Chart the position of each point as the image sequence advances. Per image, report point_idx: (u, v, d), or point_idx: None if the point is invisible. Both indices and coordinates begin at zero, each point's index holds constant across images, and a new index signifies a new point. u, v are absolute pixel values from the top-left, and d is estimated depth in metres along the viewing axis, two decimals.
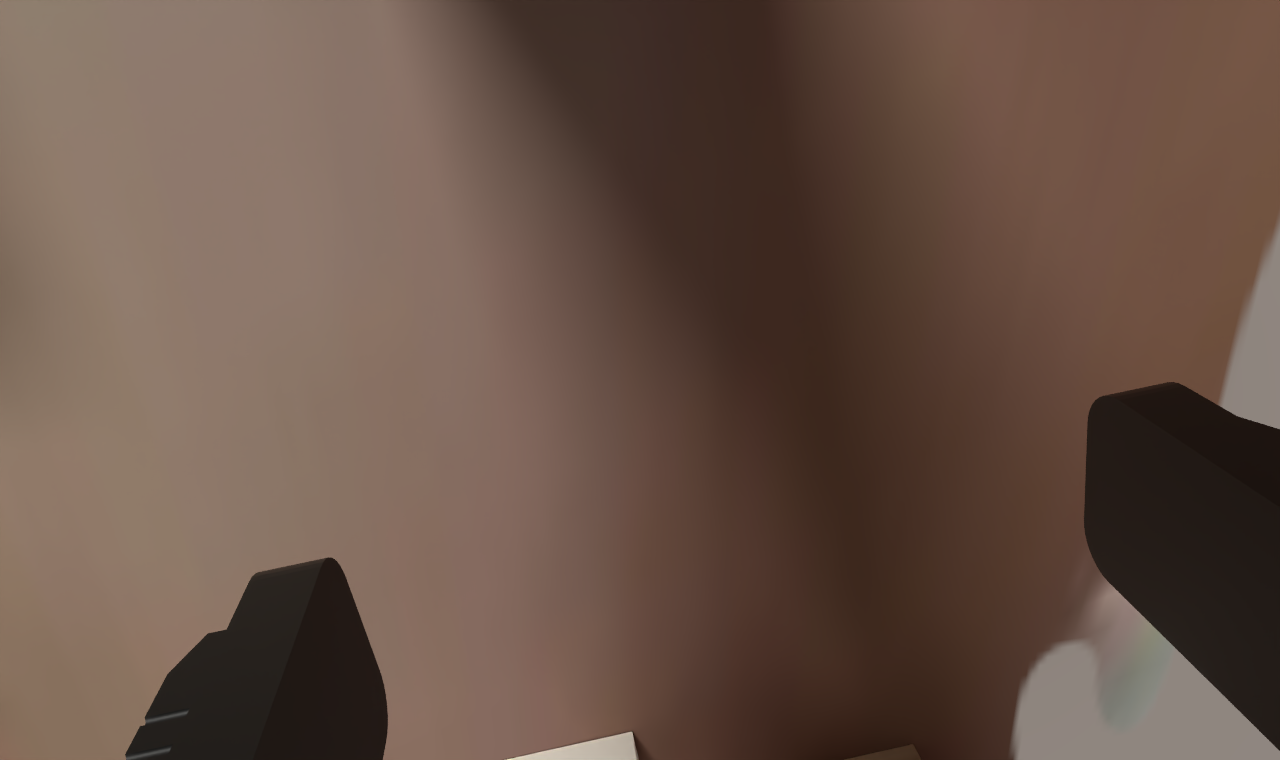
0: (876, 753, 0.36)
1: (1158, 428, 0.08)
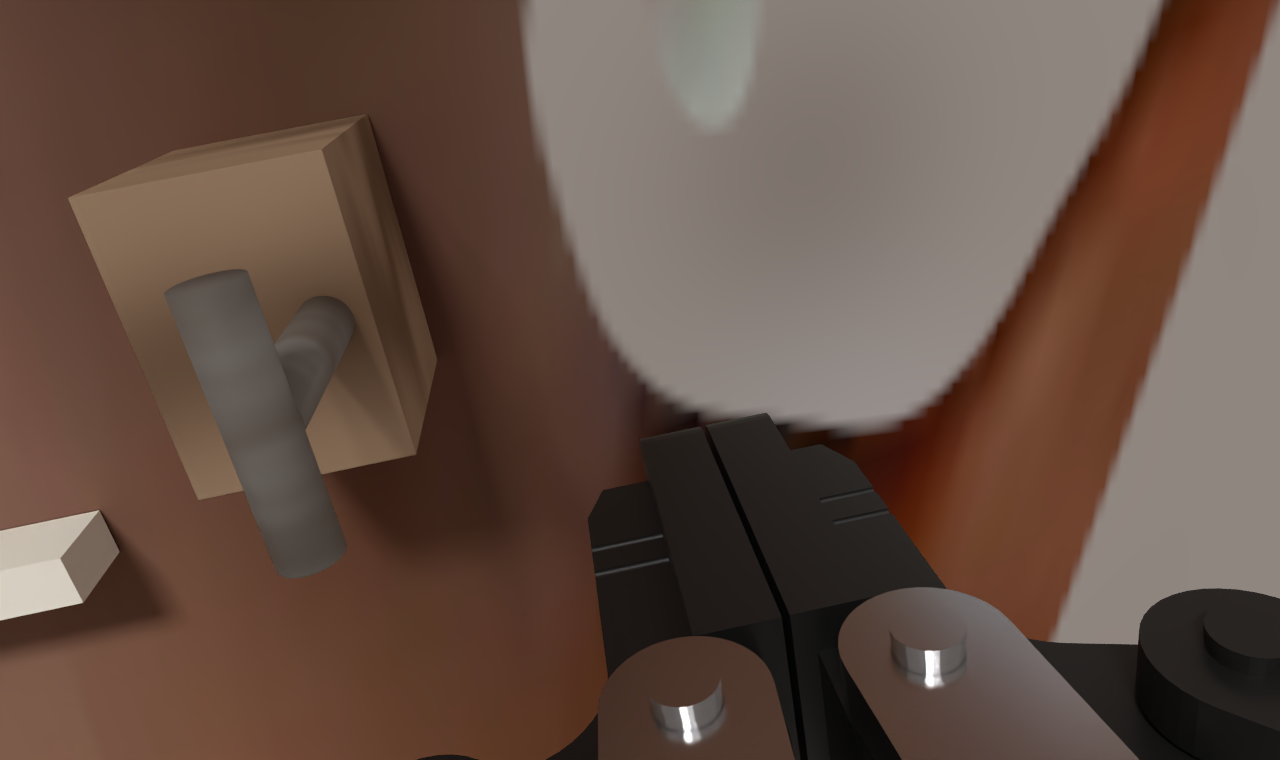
0: None
1: (722, 457, 0.09)
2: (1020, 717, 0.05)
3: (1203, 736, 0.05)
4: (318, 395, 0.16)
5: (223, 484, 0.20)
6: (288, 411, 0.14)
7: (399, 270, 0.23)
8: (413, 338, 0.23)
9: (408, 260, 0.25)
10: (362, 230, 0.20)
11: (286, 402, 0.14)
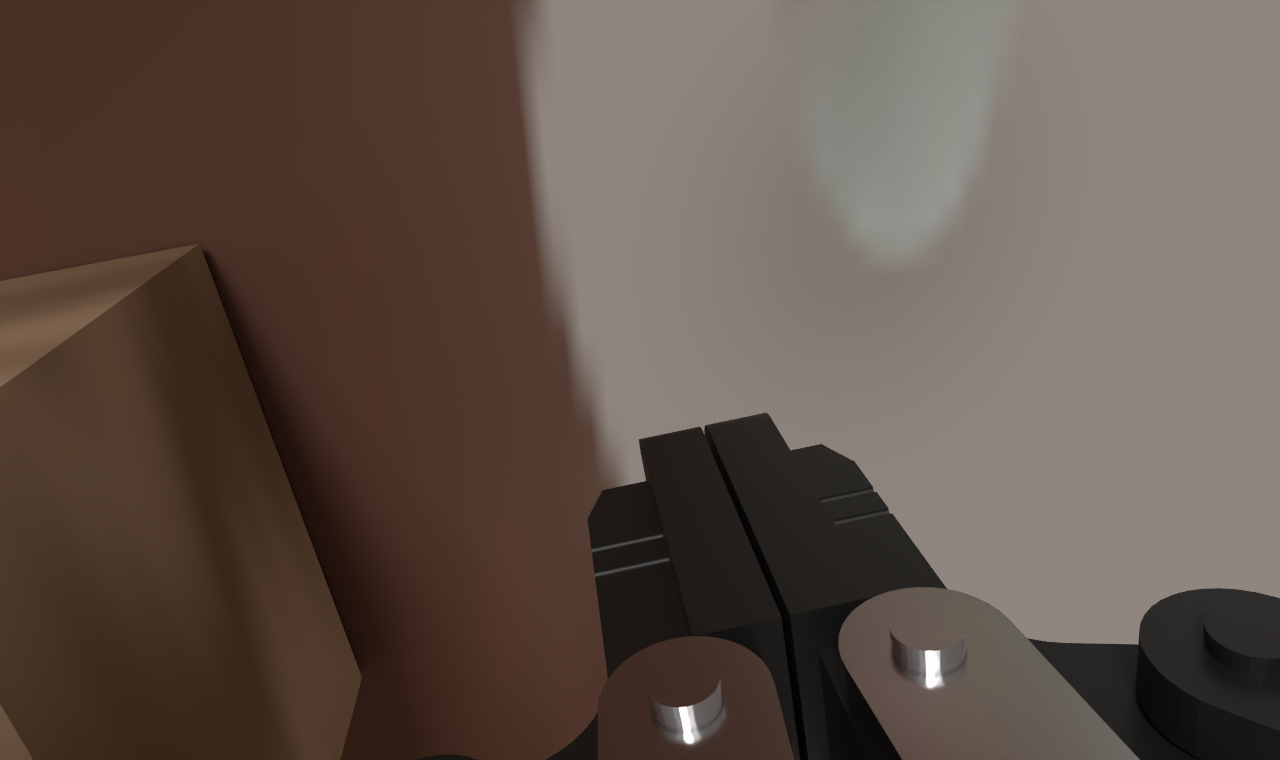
0: (71, 268, 0.11)
1: (722, 457, 0.09)
2: (1020, 717, 0.05)
3: (1204, 736, 0.05)
4: None
5: None
6: None
7: (259, 575, 0.11)
8: (287, 718, 0.11)
9: (296, 519, 0.13)
10: (98, 601, 0.08)
11: None
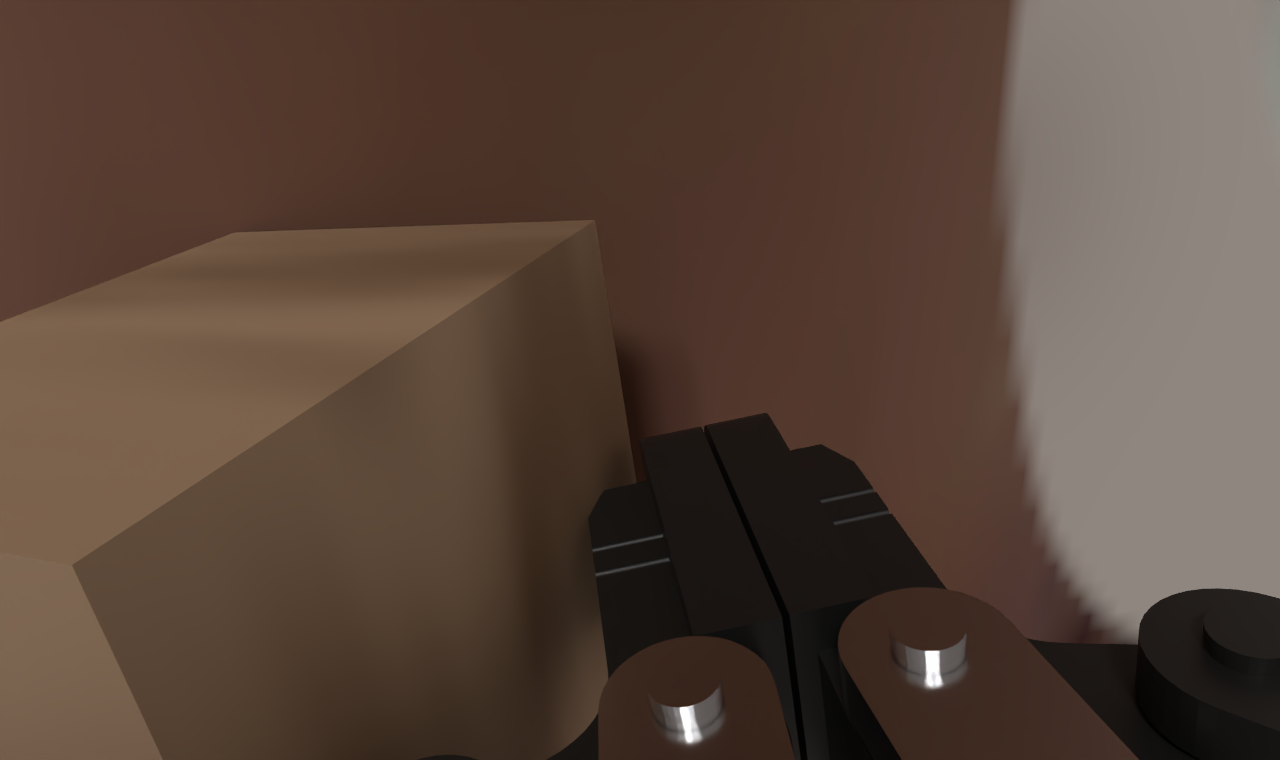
0: (463, 226, 0.10)
1: (721, 457, 0.09)
2: (1020, 717, 0.05)
3: (1204, 736, 0.05)
4: None
5: None
6: None
7: (580, 624, 0.09)
8: None
9: None
10: (365, 685, 0.06)
11: None
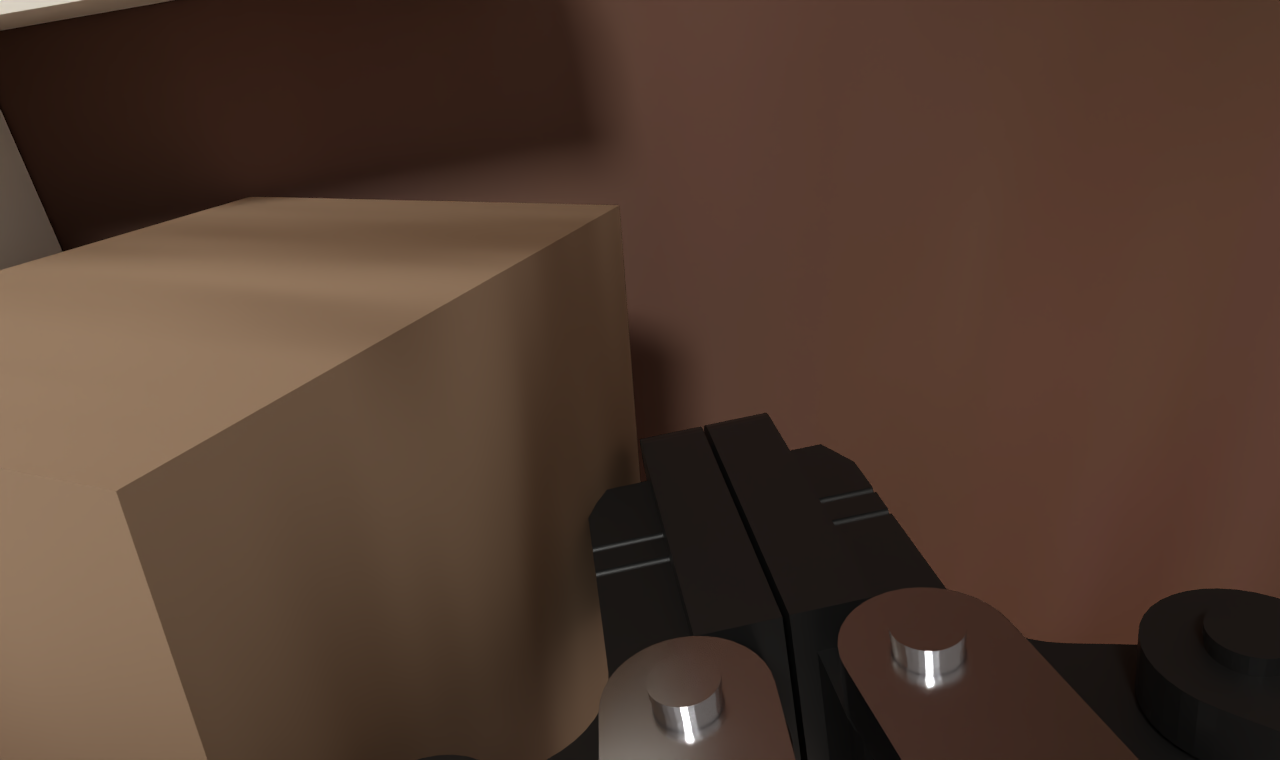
0: (486, 203, 0.10)
1: (721, 457, 0.09)
2: (1019, 718, 0.05)
3: (1203, 736, 0.05)
4: None
5: None
6: None
7: (578, 606, 0.09)
8: None
9: None
10: (377, 643, 0.06)
11: None
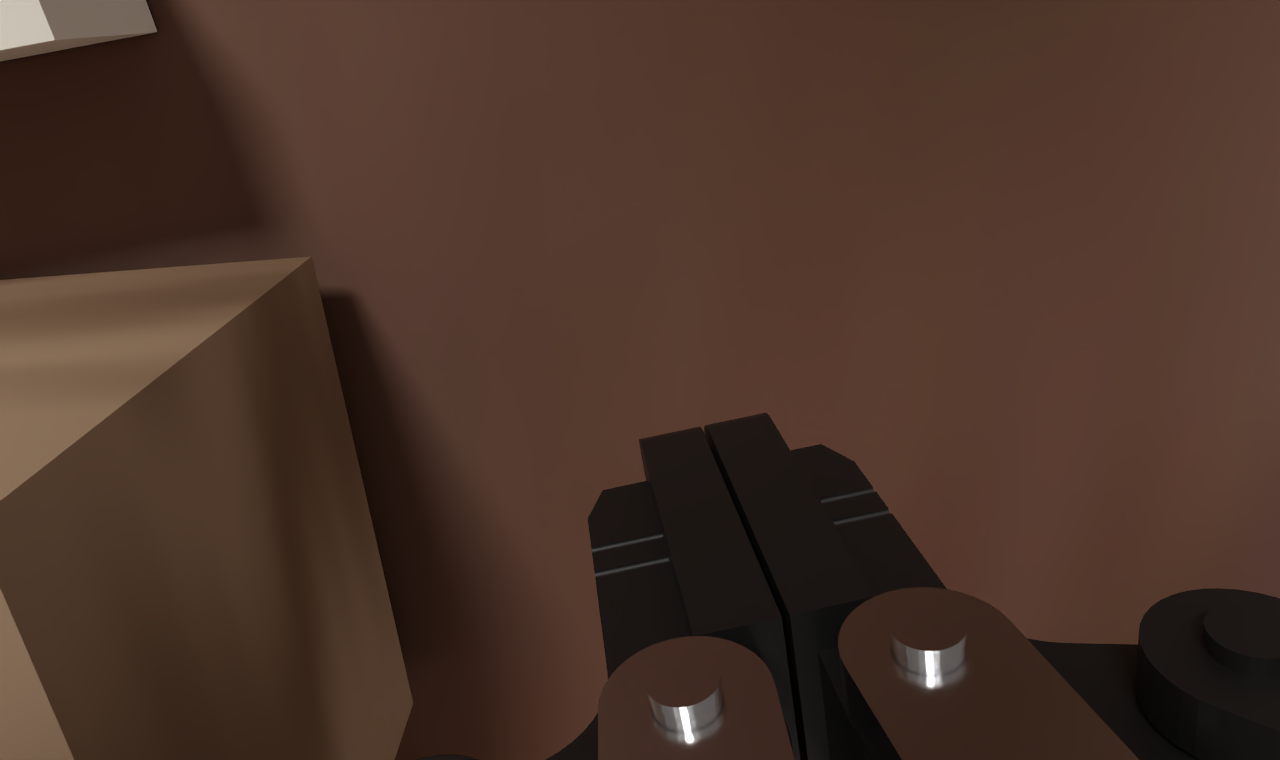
0: (184, 267, 0.11)
1: (722, 457, 0.09)
2: (1021, 717, 0.05)
3: (1203, 736, 0.05)
4: None
5: None
6: None
7: (330, 601, 0.11)
8: (339, 751, 0.11)
9: (370, 540, 0.12)
10: (176, 638, 0.08)
11: None
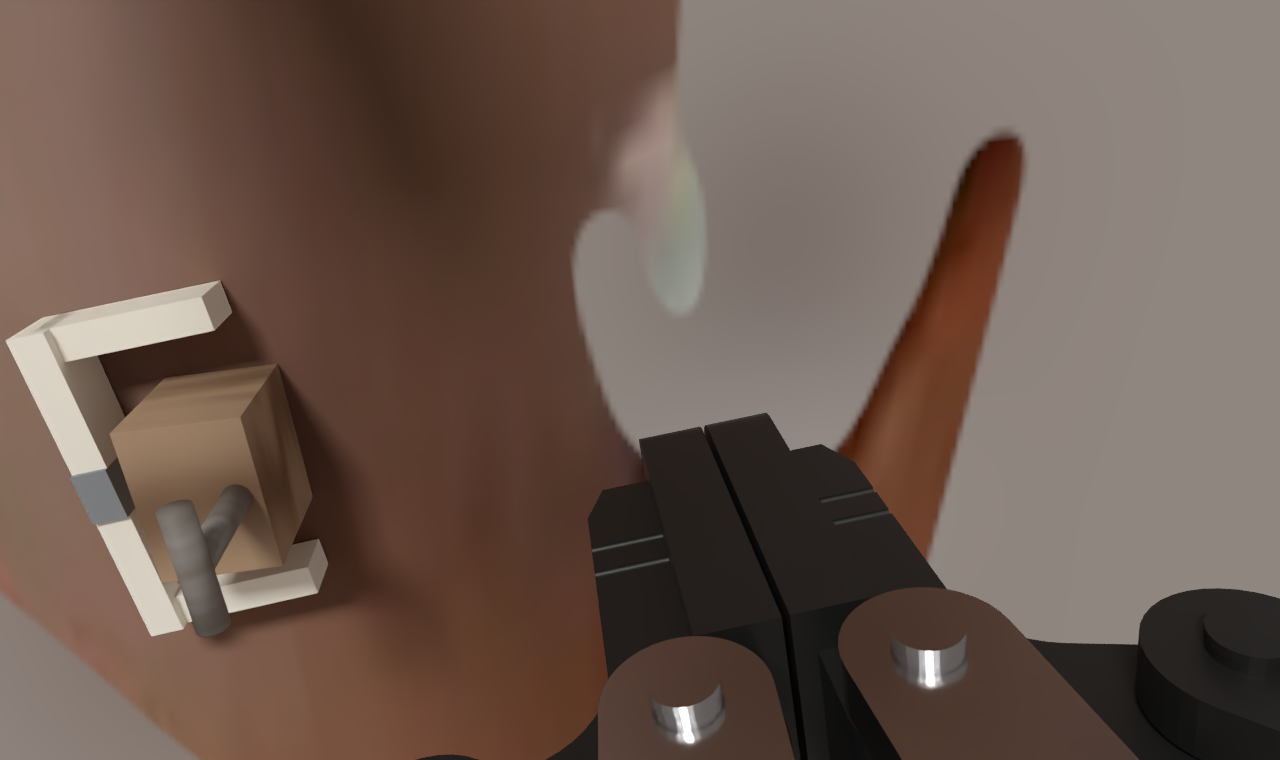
0: (243, 368, 0.41)
1: (722, 457, 0.09)
2: (1020, 717, 0.05)
3: (1204, 736, 0.05)
4: (224, 549, 0.33)
5: (176, 575, 0.38)
6: (206, 563, 0.32)
7: (288, 453, 0.41)
8: (293, 493, 0.41)
9: (297, 442, 0.43)
10: (262, 446, 0.38)
11: (206, 559, 0.32)
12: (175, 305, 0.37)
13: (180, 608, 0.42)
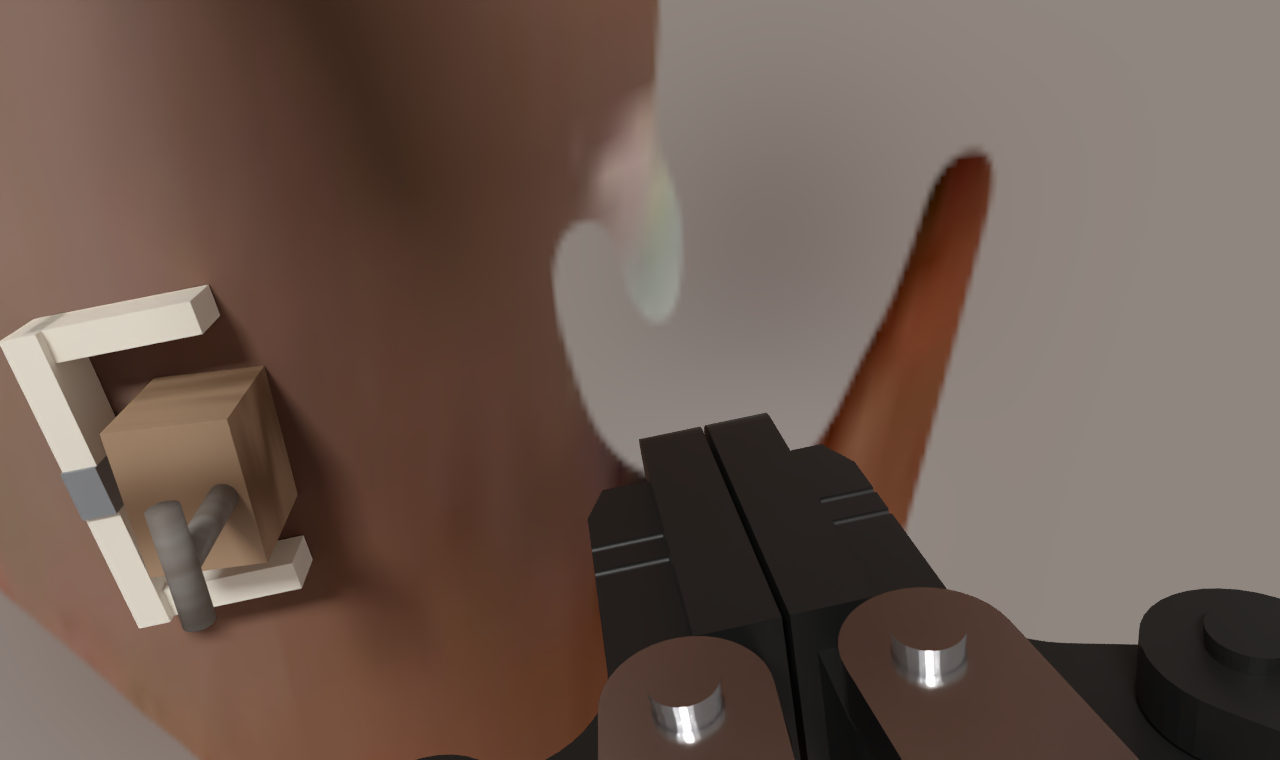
0: (230, 369, 0.42)
1: (722, 457, 0.09)
2: (1020, 717, 0.05)
3: (1203, 736, 0.05)
4: (210, 547, 0.35)
5: (163, 571, 0.39)
6: (193, 561, 0.33)
7: (274, 453, 0.42)
8: (278, 491, 0.42)
9: (283, 441, 0.44)
10: (248, 447, 0.39)
11: (192, 558, 0.33)
12: (164, 309, 0.38)
13: (167, 601, 0.44)
